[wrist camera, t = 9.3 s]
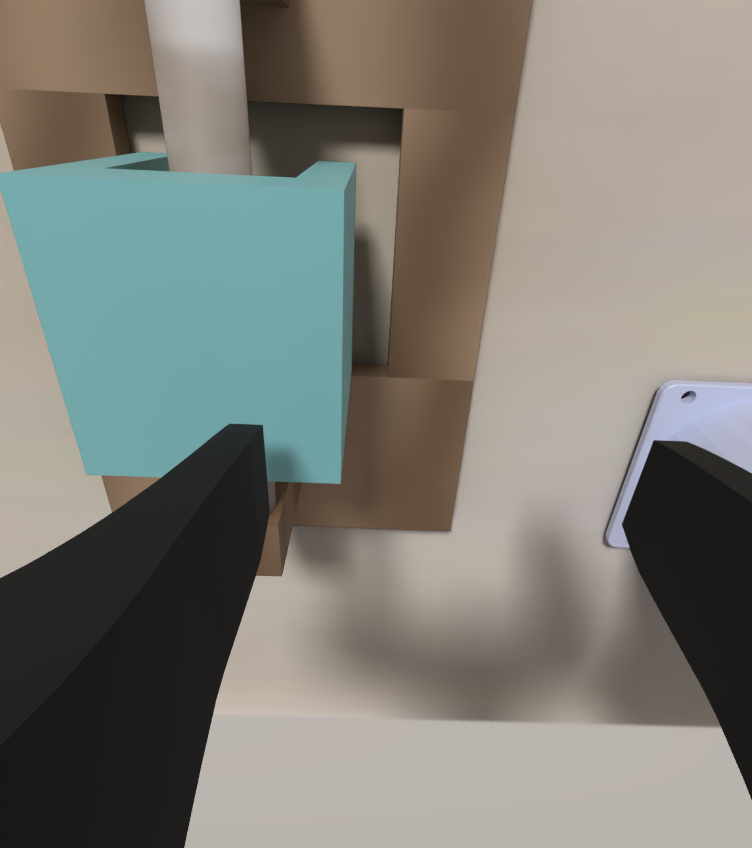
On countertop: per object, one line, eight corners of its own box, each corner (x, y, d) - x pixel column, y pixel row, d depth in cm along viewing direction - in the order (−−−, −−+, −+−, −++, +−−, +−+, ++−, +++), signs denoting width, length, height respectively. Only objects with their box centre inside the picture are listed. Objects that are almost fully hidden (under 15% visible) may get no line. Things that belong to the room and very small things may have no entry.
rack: (562, -263, 11) (747, -644, 6) (447, 515, 22) (470, 647, 17) (-92, -303, 11) (-585, -743, 5) (124, 503, 22) (38, 633, 17)
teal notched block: (356, 162, 14) (344, 190, 8) (351, 370, 17) (341, 483, 11) (141, 152, 13) (-4, 174, 8) (176, 363, 16) (86, 474, 11)
